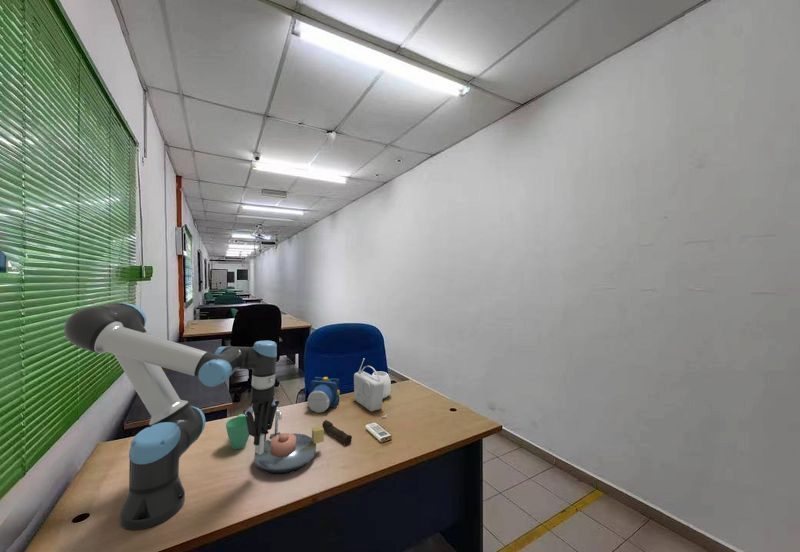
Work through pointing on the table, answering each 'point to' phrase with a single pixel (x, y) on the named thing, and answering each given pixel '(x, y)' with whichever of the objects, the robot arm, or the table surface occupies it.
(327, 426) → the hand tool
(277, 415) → the indicator stand
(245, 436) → the mug
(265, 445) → the turntable
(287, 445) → the cover
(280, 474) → the turntable base
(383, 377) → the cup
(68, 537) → the table surface
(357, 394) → the radio
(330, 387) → the valve
